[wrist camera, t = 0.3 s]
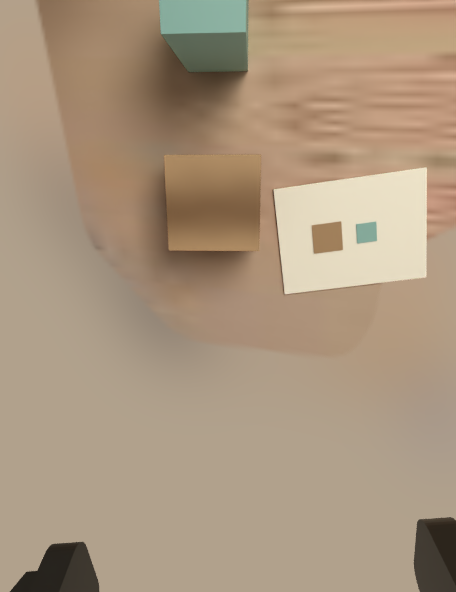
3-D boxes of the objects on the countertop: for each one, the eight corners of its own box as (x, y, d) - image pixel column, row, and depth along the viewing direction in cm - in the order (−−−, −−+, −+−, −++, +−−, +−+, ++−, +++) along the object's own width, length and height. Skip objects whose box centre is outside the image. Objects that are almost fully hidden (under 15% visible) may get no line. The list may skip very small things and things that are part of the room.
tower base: (178, 155, 33) (163, 155, 28) (259, 155, 33) (261, 154, 27) (182, 235, 35) (168, 250, 30) (258, 236, 35) (259, 251, 29)
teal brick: (186, 2, 30) (155, -71, 20) (248, 1, 30) (246, -74, 20) (188, 72, 31) (160, 33, 22) (247, 71, 31) (245, 32, 22)
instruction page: (273, 189, 34) (273, 189, 33) (425, 167, 32) (427, 167, 32) (284, 293, 36) (284, 294, 36) (425, 276, 35) (426, 277, 35)
